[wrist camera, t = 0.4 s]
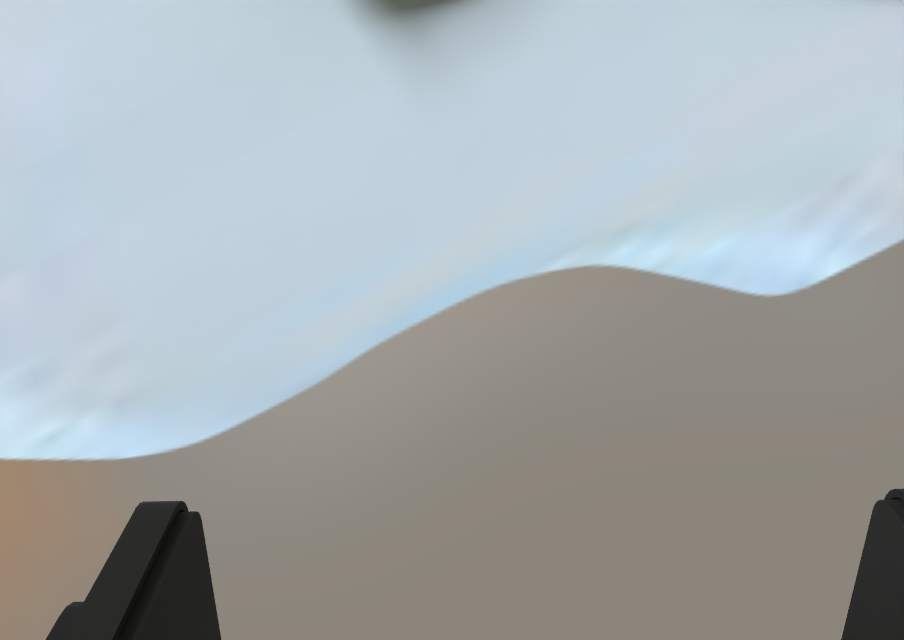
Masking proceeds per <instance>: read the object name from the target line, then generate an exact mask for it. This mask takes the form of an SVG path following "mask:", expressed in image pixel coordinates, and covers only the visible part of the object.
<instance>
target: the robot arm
mask: <svg viewBox="0 0 904 640" xmlns="http://www.w3.org/2000/svg"><path fill="white" fill-rule="evenodd" d="M46 640H221V635H220V630H219V623H218V617H217V611H216V605H215V599H214V593H213V587H212V581H211V574H210V568H209V562H208V556H207V550H206V544H205V537H204V531H203V525H202V520H201V516H200V514H199V513H198V512H188V508H187V506H186V504H185V502H183V501H162V502H161V501H160V502H142V503H140V504H139V505H138V506H137V507H136V509H135V511H134V513H133V514H132V516H131V518H130V520H129V522H128V523H127V525H126V527H125V529H124V531H123V533H122V534H121V536H120V538H119V540H118V542H117V543H116V545H115V547H114V549H113V551H112V552H111V554H110V556H109V558H108V559H107V561H106V563H105V565H104V567H103V569H102V570H101V572H100V574H99V576H98V578H97V579H96V581H95V583H94V585H93V587H92V589H91V590H90V592H89V594H88V596H87V597H86V599H85V601H84V602H73V603H71V604H70V605H68V606H67V607H66V608H65V609H64V611H63V612H62V613H61V615H60V616H59V618H58V620H57V621H56V623H55V625H54V626H53V628H52V630H51V632H50V633H49V635H48V637H47V638H46ZM841 640H904V489H893V490H890V491H889V492H888V494H887V495H886V497H885V499H884V500H879V501H877V502H876V504H875V505H874V508H873V511H872V515H871V519H870V524H869V528H868V532H867V536H866V540H865V544H864V548H863V553H862V557H861V561H860V565H859V569H858V574H857V577H856V581H855V585H854V590H853V594H852V598H851V602H850V607H849V610H848V614H847V618H846V623H845V627H844V631H843V635H842V639H841Z"/></svg>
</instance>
